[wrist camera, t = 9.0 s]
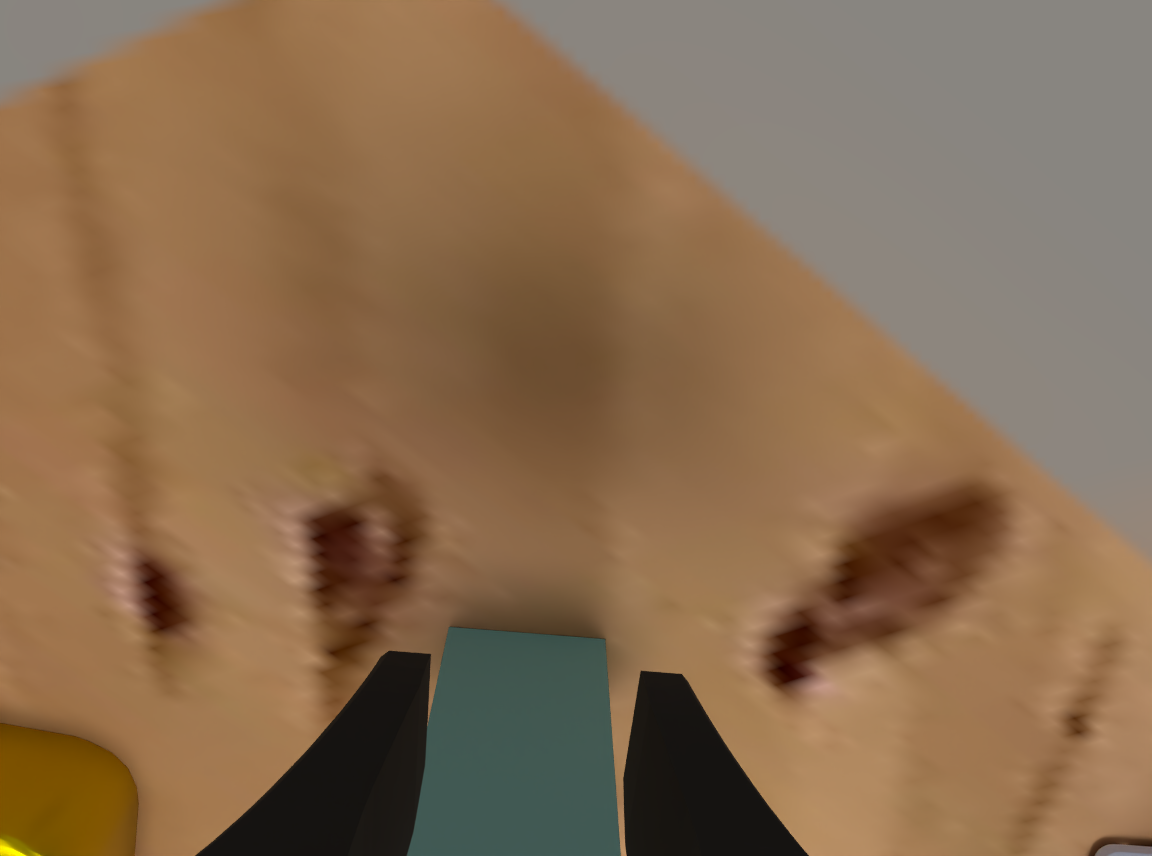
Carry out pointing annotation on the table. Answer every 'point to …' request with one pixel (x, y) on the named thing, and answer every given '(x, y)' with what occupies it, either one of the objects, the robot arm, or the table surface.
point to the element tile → (63, 797)
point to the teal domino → (519, 749)
